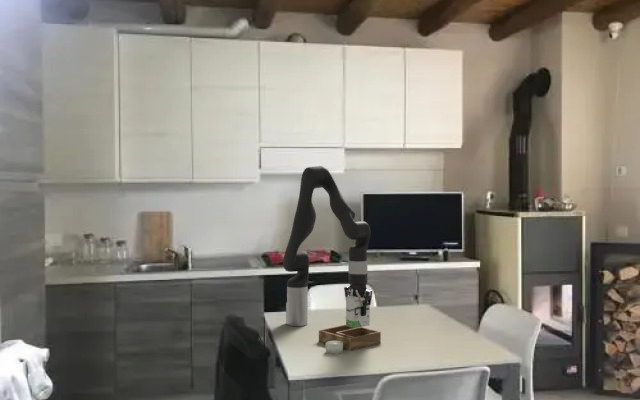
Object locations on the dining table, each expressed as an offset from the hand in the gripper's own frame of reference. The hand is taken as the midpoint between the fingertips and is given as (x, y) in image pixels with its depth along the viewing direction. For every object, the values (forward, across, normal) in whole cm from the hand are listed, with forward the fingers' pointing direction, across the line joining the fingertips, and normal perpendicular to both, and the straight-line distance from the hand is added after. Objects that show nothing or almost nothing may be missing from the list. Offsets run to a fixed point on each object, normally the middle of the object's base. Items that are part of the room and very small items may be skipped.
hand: (358, 314), depth 228 cm
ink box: (+5, 0, 0) cm, 5 cm away
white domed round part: (+12, +2, -15) cm, 19 cm away
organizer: (+12, -4, -1) cm, 12 cm away
